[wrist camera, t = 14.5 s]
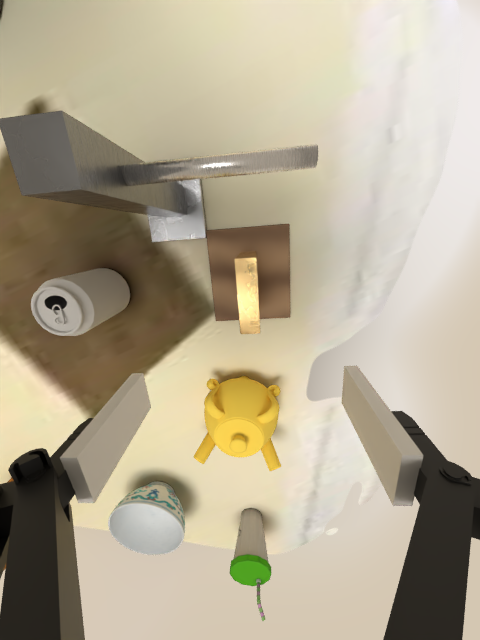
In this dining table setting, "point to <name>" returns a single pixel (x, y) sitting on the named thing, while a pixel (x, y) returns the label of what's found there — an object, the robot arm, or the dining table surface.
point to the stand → (127, 172)
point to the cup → (251, 553)
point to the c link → (247, 292)
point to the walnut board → (270, 269)
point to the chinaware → (149, 520)
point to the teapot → (240, 419)
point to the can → (79, 301)
